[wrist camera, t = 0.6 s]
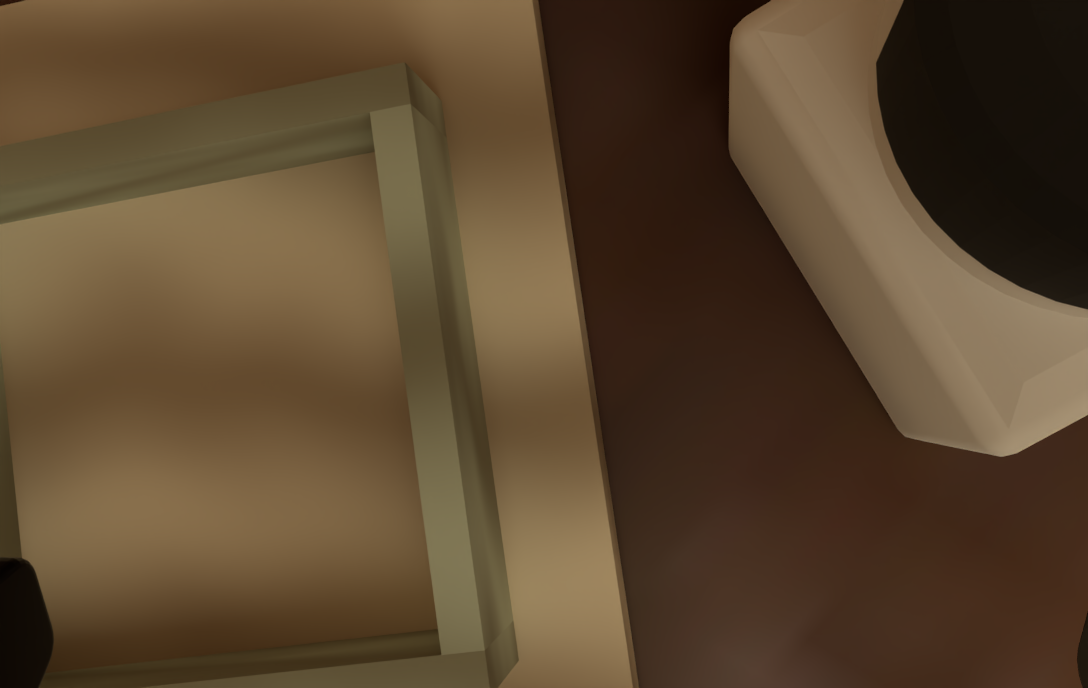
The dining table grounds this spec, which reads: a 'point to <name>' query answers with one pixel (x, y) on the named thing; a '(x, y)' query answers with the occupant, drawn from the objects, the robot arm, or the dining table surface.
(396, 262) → the holder board
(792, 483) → the dining table surface
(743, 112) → the medicine bottle
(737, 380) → the dining table surface
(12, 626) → the robot arm
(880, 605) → the dining table surface
